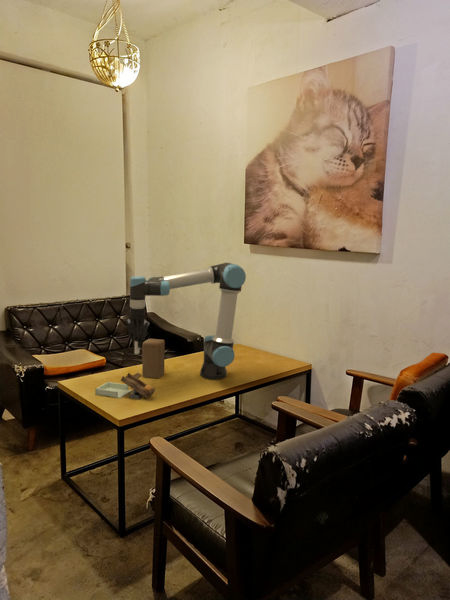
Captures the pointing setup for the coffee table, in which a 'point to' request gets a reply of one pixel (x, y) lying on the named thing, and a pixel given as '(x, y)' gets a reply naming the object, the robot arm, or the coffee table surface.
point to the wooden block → (153, 358)
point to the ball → (148, 388)
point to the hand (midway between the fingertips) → (137, 353)
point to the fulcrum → (135, 395)
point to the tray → (112, 390)
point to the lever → (137, 384)
